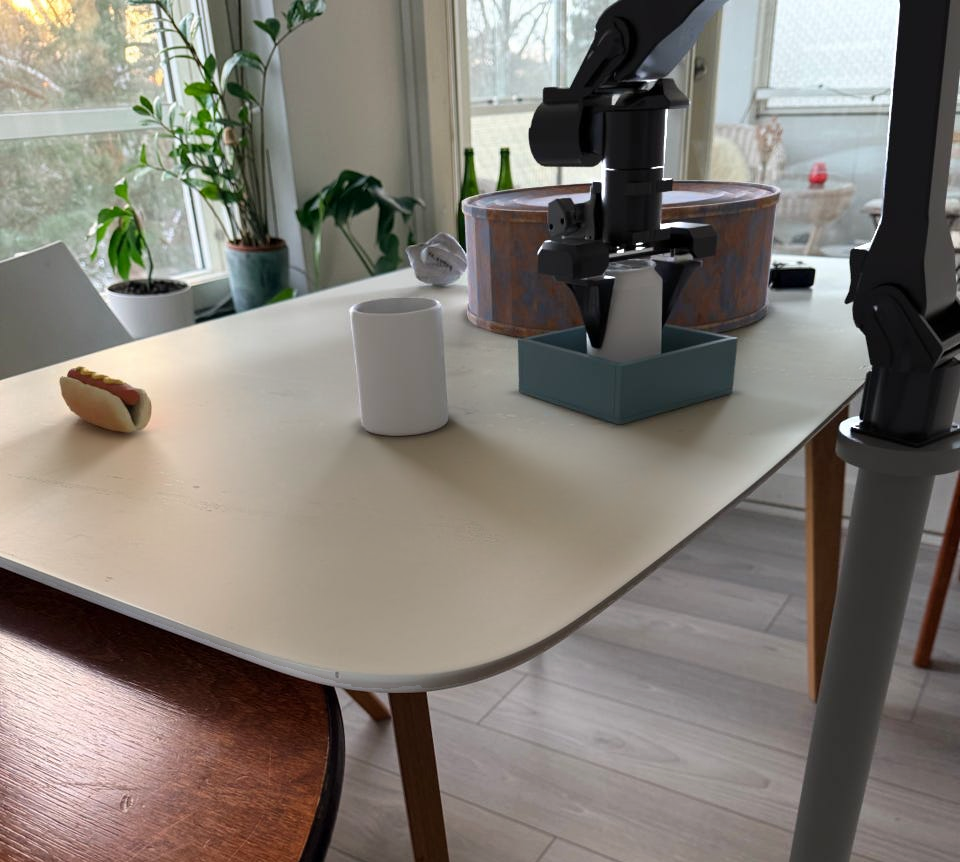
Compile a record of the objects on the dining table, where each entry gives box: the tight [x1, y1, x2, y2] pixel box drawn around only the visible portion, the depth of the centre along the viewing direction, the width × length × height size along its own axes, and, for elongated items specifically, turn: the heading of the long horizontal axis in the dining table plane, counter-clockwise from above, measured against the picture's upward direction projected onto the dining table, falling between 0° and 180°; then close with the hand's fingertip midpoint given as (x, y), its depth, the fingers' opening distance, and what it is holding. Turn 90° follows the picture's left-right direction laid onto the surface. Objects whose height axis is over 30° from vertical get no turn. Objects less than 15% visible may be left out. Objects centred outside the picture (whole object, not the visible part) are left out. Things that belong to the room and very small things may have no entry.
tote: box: [517, 323, 739, 426], centre depth 93 cm, size 16×16×6 cm
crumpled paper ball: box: [405, 231, 467, 286], centre depth 154 cm, size 11×9×8 cm
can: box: [587, 259, 662, 363], centre depth 91 cm, size 8×8×12 cm
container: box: [461, 179, 782, 338], centre depth 128 cm, size 43×43×15 cm
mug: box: [349, 296, 449, 437], centre depth 87 cm, size 12×8×11 cm
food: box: [59, 365, 153, 434], centre depth 92 cm, size 14×6×5 cm, turn 45°
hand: (626, 341), depth 92 cm, fingers closed on can, 8 cm apart
